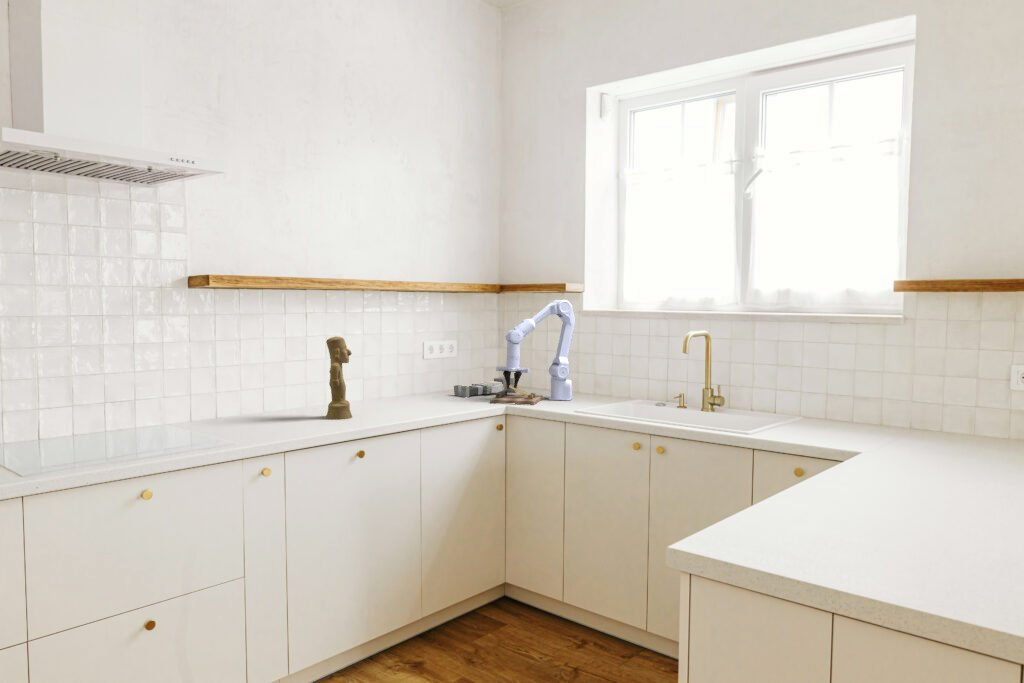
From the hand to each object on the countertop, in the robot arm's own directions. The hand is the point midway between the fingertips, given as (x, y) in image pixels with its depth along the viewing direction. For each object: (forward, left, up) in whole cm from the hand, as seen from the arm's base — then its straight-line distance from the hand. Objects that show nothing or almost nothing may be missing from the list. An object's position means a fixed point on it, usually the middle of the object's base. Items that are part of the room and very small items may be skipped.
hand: (512, 388), depth 322 cm
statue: (+51, +62, -6) cm, 81 cm away
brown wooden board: (-2, 0, -5) cm, 6 cm away
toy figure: (+17, -20, -6) cm, 27 cm away
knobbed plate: (+2, -7, -3) cm, 8 cm away
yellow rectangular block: (-4, 0, -2) cm, 4 cm away
